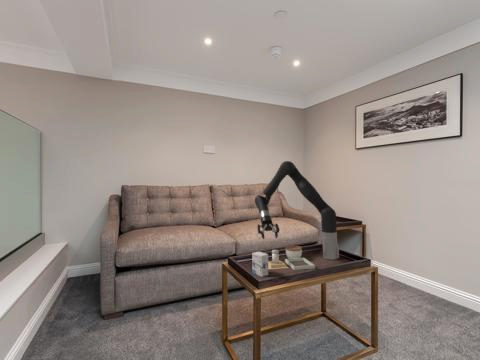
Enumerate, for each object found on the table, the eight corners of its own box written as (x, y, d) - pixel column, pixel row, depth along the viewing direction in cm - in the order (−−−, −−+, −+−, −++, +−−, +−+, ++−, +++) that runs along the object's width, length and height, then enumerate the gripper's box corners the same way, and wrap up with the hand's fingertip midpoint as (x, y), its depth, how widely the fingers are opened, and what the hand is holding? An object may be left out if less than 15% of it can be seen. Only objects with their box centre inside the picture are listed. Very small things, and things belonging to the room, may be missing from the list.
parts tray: (304, 261, 159) (304, 257, 159) (315, 269, 142) (315, 265, 142) (285, 262, 157) (284, 258, 157) (294, 271, 141) (293, 266, 141)
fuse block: (282, 263, 157) (282, 259, 157) (288, 269, 145) (288, 265, 145) (264, 264, 155) (263, 260, 155) (268, 270, 143) (268, 266, 143)
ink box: (252, 274, 138) (251, 252, 139) (259, 272, 141) (258, 251, 142) (262, 278, 131) (261, 255, 132) (269, 276, 134) (268, 254, 135)
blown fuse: (278, 264, 152) (277, 249, 152) (280, 266, 148) (279, 251, 148) (271, 264, 152) (271, 249, 152) (273, 266, 148) (272, 251, 148)
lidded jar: (283, 257, 169) (282, 244, 169) (297, 256, 171) (297, 242, 172) (290, 262, 158) (289, 247, 159) (305, 260, 161) (304, 245, 161)
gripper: (256, 215, 170) (260, 235, 158) (276, 214, 172) (282, 233, 160) (255, 222, 175) (258, 241, 163) (274, 221, 177) (279, 240, 165)
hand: (270, 237), depth 162 cm, fingers open, 8 cm apart
